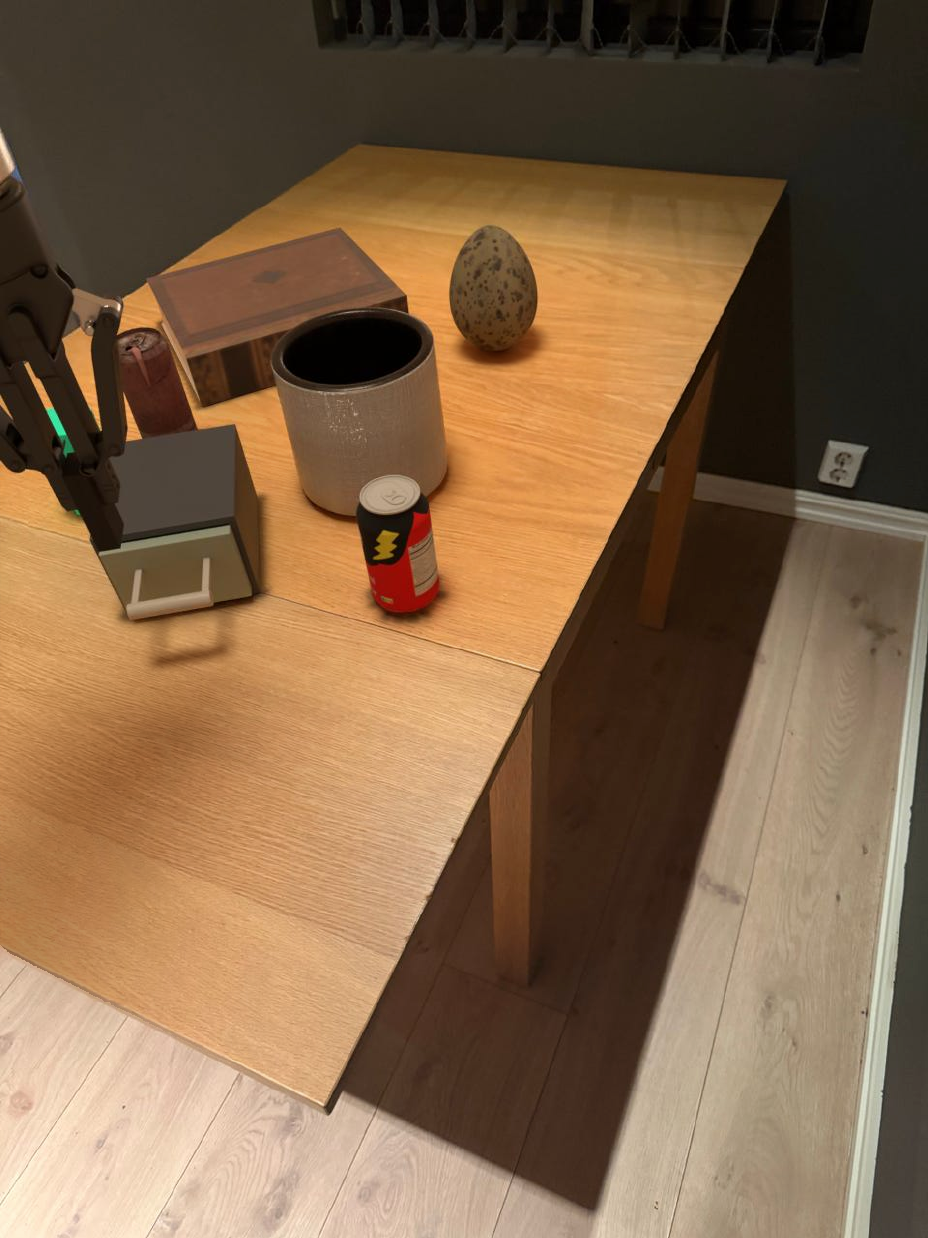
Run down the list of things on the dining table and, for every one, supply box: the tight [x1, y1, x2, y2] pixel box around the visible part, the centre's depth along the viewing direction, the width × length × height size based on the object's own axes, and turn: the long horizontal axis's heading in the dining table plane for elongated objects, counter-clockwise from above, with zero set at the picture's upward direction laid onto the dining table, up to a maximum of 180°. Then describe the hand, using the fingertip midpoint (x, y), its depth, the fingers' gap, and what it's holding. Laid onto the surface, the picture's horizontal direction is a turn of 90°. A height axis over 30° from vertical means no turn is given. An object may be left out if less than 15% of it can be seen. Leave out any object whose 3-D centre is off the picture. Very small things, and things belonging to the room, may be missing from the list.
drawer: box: [99, 524, 253, 621], centre depth 82 cm, size 19×11×8 cm, turn 10°
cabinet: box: [88, 423, 261, 614], centre depth 85 cm, size 15×13×10 cm
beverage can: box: [355, 475, 440, 613], centre depth 78 cm, size 6×6×12 cm
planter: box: [270, 307, 448, 517], centre depth 90 cm, size 16×16×16 cm
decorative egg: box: [448, 224, 539, 352], centre depth 107 cm, size 11×11×15 cm
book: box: [145, 227, 410, 408], centre depth 117 cm, size 24×28×7 cm
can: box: [117, 326, 199, 439], centre depth 97 cm, size 6×6×14 cm
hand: (111, 537), depth 62 cm, fingers closed
